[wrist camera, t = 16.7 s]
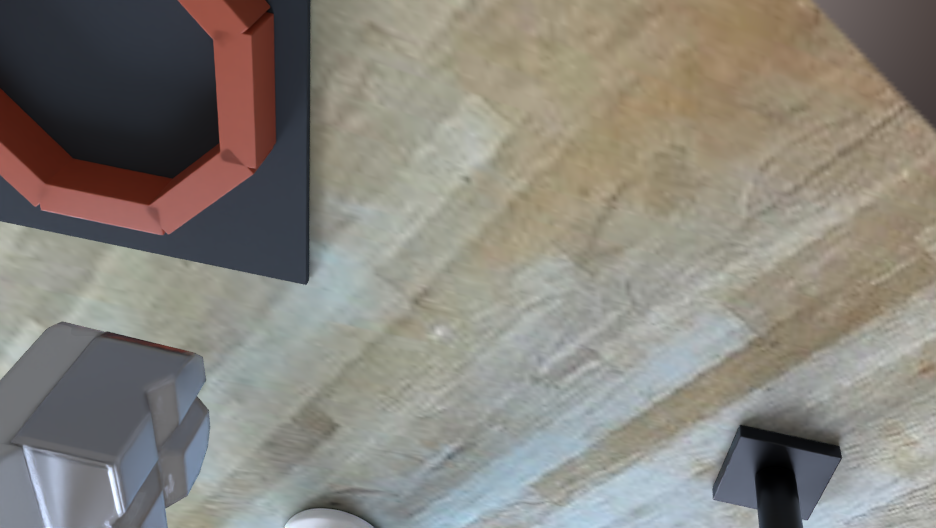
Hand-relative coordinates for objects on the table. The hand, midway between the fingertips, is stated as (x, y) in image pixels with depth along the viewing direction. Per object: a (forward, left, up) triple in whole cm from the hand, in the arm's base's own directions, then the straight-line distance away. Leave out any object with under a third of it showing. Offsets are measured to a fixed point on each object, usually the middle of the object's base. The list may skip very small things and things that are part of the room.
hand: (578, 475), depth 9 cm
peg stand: (+27, +13, -27) cm, 40 cm away
